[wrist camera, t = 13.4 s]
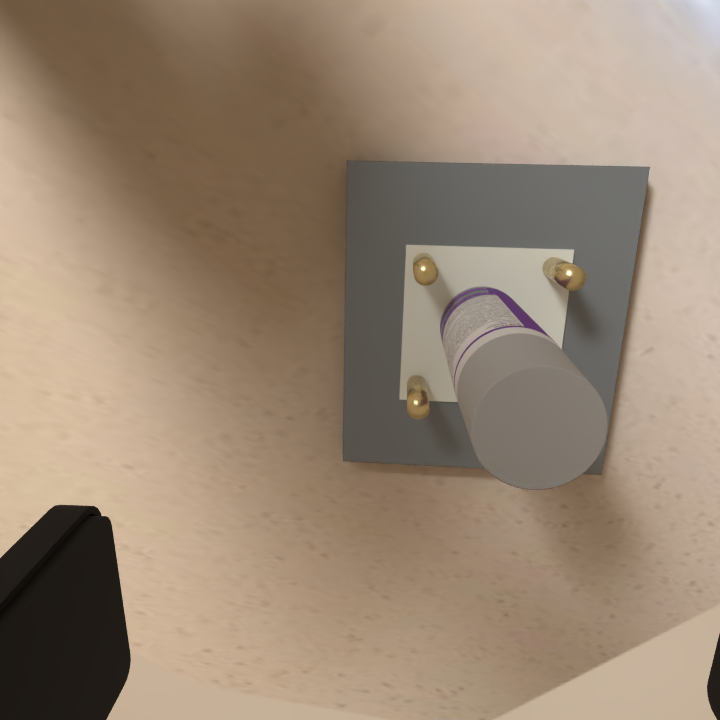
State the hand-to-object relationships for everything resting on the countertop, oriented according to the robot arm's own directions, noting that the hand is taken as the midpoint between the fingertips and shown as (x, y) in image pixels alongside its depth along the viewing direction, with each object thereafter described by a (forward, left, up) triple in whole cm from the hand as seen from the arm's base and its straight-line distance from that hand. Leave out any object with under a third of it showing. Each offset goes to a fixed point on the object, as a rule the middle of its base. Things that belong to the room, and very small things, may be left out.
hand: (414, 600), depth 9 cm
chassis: (+2, +4, -27) cm, 28 cm away
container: (+2, +4, -26) cm, 26 cm away
